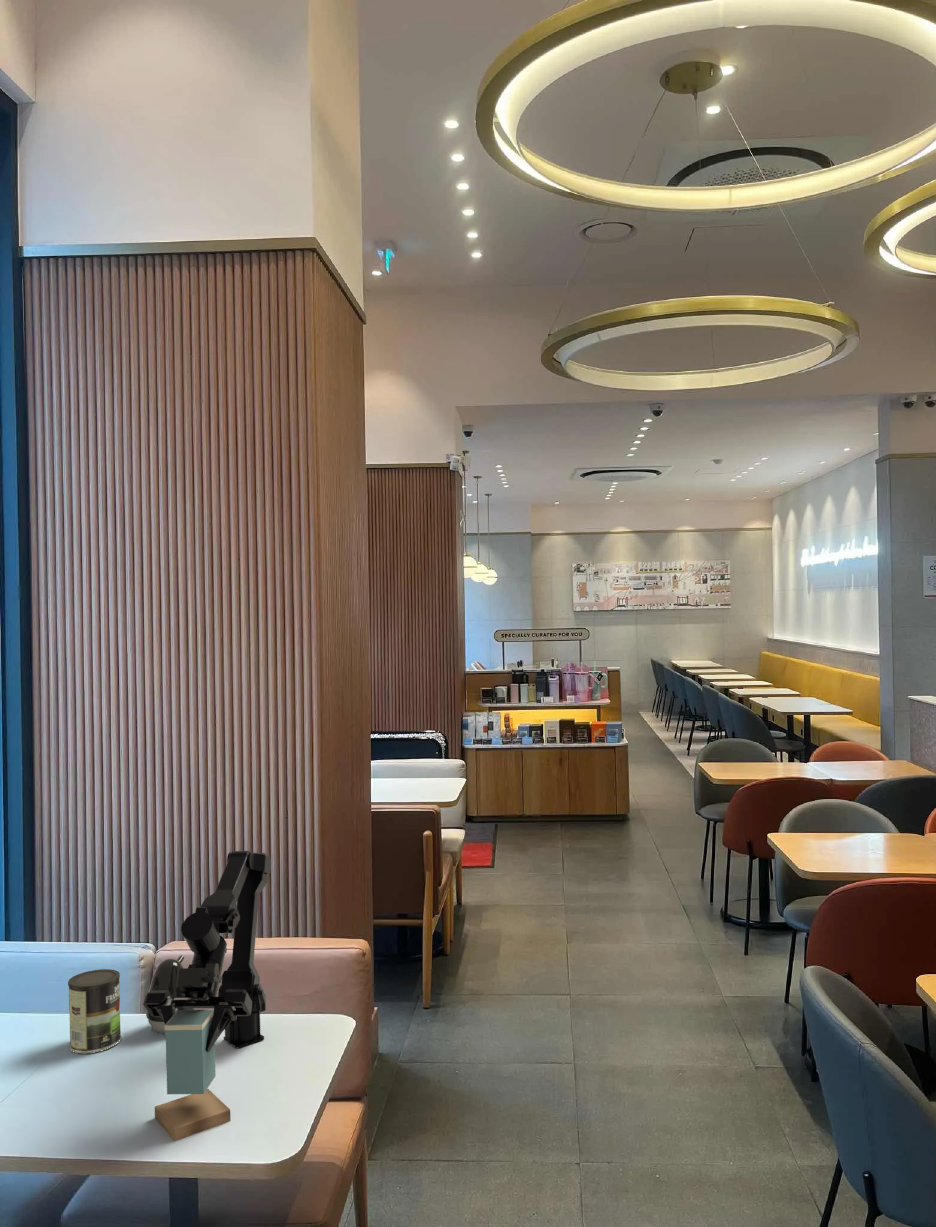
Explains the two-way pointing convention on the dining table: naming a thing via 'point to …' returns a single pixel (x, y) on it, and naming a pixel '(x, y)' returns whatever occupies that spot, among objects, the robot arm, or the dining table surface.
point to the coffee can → (94, 1010)
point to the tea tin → (189, 1052)
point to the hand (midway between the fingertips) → (188, 1051)
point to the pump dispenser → (165, 987)
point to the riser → (192, 1114)
